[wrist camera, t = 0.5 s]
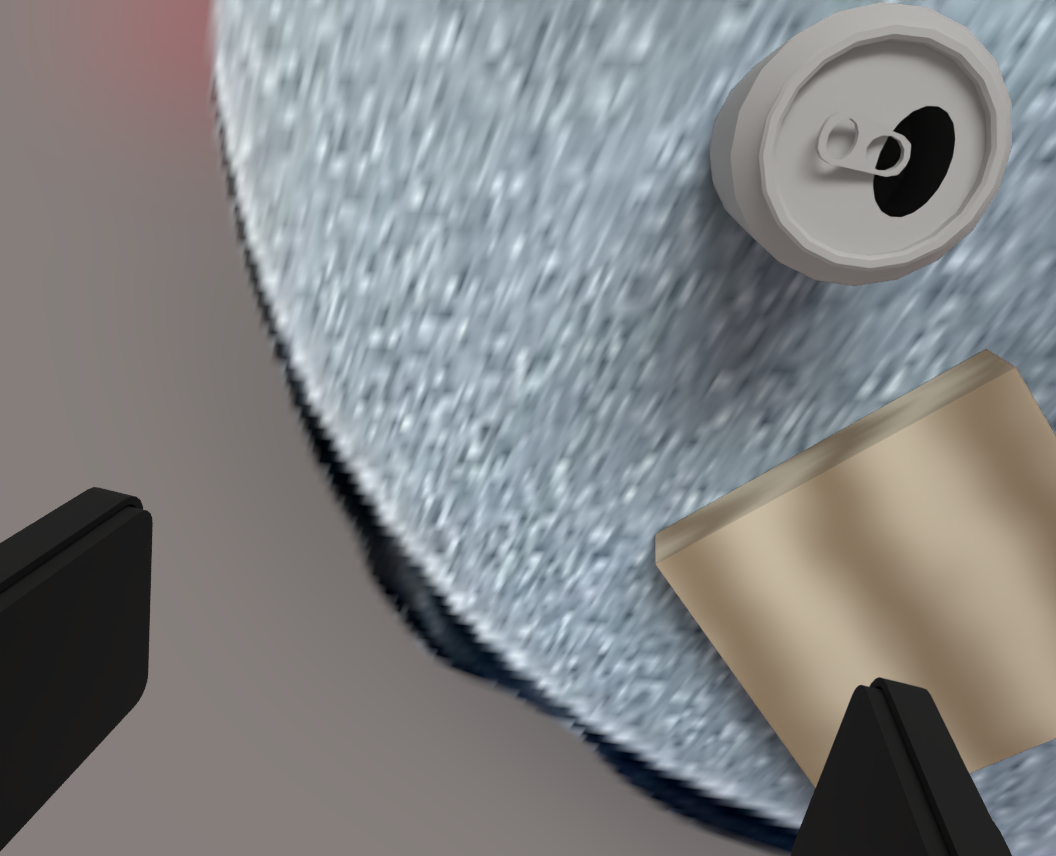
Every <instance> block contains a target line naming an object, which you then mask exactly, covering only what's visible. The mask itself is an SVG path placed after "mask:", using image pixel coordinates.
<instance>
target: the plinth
mask: <svg viewBox="0 0 1056 856" xmlns="http://www.w3.org/2000/svg"><path fill="white" fill-rule="evenodd" d="M655 554H656V566H657V567H658V568H659V570H660V571H661V573H662V574H663V575H664V577H665V578H666V580H667V581H668V582H669V584H670V585H671V587H672V588H673V589H674V591H675V592H676V594H677V595H678V596H679V598H680V599H681V601H682V602H683V603H684V605H685V606H686V608H687V609H688V610H689V612H690V613H691V615H692V616H693V617H694V619H695V620H696V622H697V623H698V624H699V626H700V627H701V629H702V630H703V631H704V633H705V634H706V636H707V637H708V638H709V640H710V641H711V643H712V644H713V645H714V647H715V648H716V650H717V651H718V652H719V654H720V655H721V657H722V658H723V659H724V661H725V662H726V664H727V665H728V666H729V668H730V669H731V671H732V672H733V673H734V675H735V676H736V678H737V679H738V680H739V682H740V683H741V685H742V686H743V687H744V689H745V690H746V692H747V693H748V694H749V696H750V697H751V699H752V700H753V701H754V703H755V704H756V706H757V707H758V708H759V710H760V711H761V713H762V714H763V715H764V717H765V718H766V720H767V721H768V722H769V724H770V725H771V727H772V728H773V729H774V731H775V732H776V734H777V735H778V736H779V738H780V739H781V741H782V742H783V743H784V745H785V746H786V748H787V749H788V750H789V752H790V753H791V755H792V756H793V757H794V759H795V760H796V762H797V763H798V764H799V766H800V767H801V769H802V770H803V771H804V773H805V774H806V776H807V777H808V778H809V780H810V781H811V783H812V784H813V785H814V787H815V788H816V786H817V783H818V781H819V778H820V776H821V773H822V771H823V768H824V765H825V763H826V760H827V758H828V755H829V753H830V750H831V748H832V745H833V742H834V740H835V737H836V735H837V732H838V730H839V727H840V725H841V722H842V720H843V717H844V714H845V712H846V709H847V707H848V704H849V702H850V699H851V697H852V694H853V692H854V690H855V689H856V688H857V686H859V685H864V686H868V687H869V686H870V684H871V683H872V682H873V681H874V679H876V678H879V677H881V678H885V679H889V680H893V681H897V682H901V683H905V684H909V685H913V686H918V687H922V688H924V689H927V690H928V692H929V693H930V694H931V696H932V698H933V700H934V702H935V704H936V706H937V709H938V711H939V713H940V715H941V717H942V719H943V721H944V723H945V725H946V727H947V729H948V731H949V733H950V735H951V737H952V739H953V741H954V743H955V745H956V747H957V749H958V751H959V753H960V755H961V758H962V760H963V762H964V764H965V766H966V768H967V770H968V772H969V773H972V772H974V771H977V770H979V769H981V768H984V767H986V766H989V765H991V764H994V763H996V762H999V761H1001V760H1004V759H1006V758H1008V757H1011V756H1013V755H1016V754H1018V753H1021V752H1023V751H1026V750H1028V749H1031V748H1033V747H1035V746H1038V745H1040V744H1043V743H1045V742H1048V741H1050V740H1053V739H1055V738H1056V436H1055V434H1054V432H1053V431H1052V429H1051V427H1050V425H1049V424H1048V422H1047V420H1046V418H1045V417H1044V415H1043V413H1042V411H1041V410H1040V408H1039V406H1038V405H1037V403H1036V401H1035V399H1034V398H1033V396H1032V394H1031V392H1030V391H1029V389H1028V387H1027V385H1026V384H1025V382H1024V380H1023V378H1022V377H1021V375H1020V373H1019V372H1018V370H1017V368H1016V367H1015V366H1013V365H1012V364H1010V363H1008V362H1007V361H1005V360H1003V359H1002V358H1000V357H999V356H997V355H995V354H994V353H992V352H990V351H989V350H987V349H985V350H983V351H982V352H980V353H978V354H976V355H974V356H973V357H971V358H969V359H967V360H965V361H964V362H962V363H960V364H958V365H956V366H955V367H953V368H951V369H949V370H948V371H946V372H944V373H942V374H940V375H939V376H937V377H935V378H933V379H931V380H930V381H928V382H926V383H924V384H923V385H921V386H919V387H917V388H915V389H914V390H912V391H910V392H908V393H906V394H905V395H903V396H901V397H899V398H898V399H896V400H894V401H892V402H890V403H889V404H887V405H885V406H883V407H881V408H880V409H878V410H876V411H874V412H873V413H871V414H869V415H867V416H865V417H864V418H862V419H860V420H858V421H856V422H855V423H853V424H851V425H849V426H848V427H846V428H844V429H842V430H840V431H839V432H837V433H835V434H833V435H831V436H830V437H828V438H826V439H824V440H823V441H821V442H819V443H817V444H815V445H814V446H812V447H810V448H808V449H806V450H805V451H803V452H801V453H799V454H798V455H796V456H794V457H792V458H790V459H789V460H787V461H785V462H783V463H781V464H780V465H778V466H776V467H774V468H773V469H771V470H769V471H767V472H765V473H764V474H762V475H760V476H758V477H756V478H755V479H753V480H751V481H749V482H747V483H746V484H744V485H742V486H740V487H739V488H737V489H735V490H733V491H731V492H730V493H728V494H726V495H724V496H722V497H721V498H719V499H717V500H715V501H714V502H712V503H710V504H708V505H706V506H705V507H703V508H701V509H699V510H697V511H696V512H694V513H692V514H690V515H689V516H687V517H685V518H683V519H681V520H680V521H678V522H676V523H674V524H672V525H671V526H669V527H667V528H665V529H664V530H662V531H660V532H658V533H656V534H655Z"/></svg>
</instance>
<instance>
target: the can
mask: <svg viewBox="0 0 1056 856" xmlns="http://www.w3.org/2000/svg"><path fill="white" fill-rule="evenodd" d="M1011 149H1012V116H1011V100H1010V97H1009V94H1008V92H1007V89H1006V86H1005V84H1004V81H1003V78H1002V76H1001V73H1000V70H999V67H998V65H997V62H996V60H995V59H994V58H993V57H992V56H991V54H990V53H989V52H988V51H987V50H986V49H985V48H984V46H983V45H982V44H981V43H980V42H979V41H978V40H977V38H976V37H975V36H974V35H973V34H972V33H971V32H970V31H969V29H968V28H967V27H965V26H963V25H961V24H959V23H957V22H955V21H953V20H951V19H949V18H947V17H945V16H943V15H941V14H939V13H937V12H935V11H934V10H932V9H930V8H928V7H919V6H911V5H902V4H894V3H885V2H881V3H876V4H871V5H867V6H862V7H857V8H853V9H848V10H844V11H839V12H835V13H834V14H832V15H830V16H828V17H827V18H825V19H823V20H821V21H820V22H818V23H816V24H814V25H812V26H811V27H809V28H807V29H805V30H804V31H802V32H800V33H798V34H797V35H795V36H793V37H792V38H791V39H789V40H788V41H787V42H785V43H784V44H783V45H781V46H780V47H779V48H778V49H776V50H775V51H774V52H772V53H771V54H770V55H768V56H767V57H766V58H764V59H763V60H762V61H760V62H759V63H758V64H757V65H755V66H754V67H753V68H752V69H751V70H750V71H749V72H748V73H747V74H746V75H745V76H744V77H743V78H742V79H741V81H740V82H739V83H738V84H737V85H736V86H735V87H734V88H733V89H732V90H731V91H730V93H729V95H728V97H727V99H726V101H725V103H724V105H723V106H722V108H721V110H720V112H719V114H718V116H717V118H716V120H715V124H714V130H713V135H712V140H711V145H710V150H709V155H710V164H711V172H712V181H713V185H714V187H715V189H716V191H717V193H718V195H719V197H720V200H721V202H722V204H723V206H724V208H725V210H726V211H727V212H728V213H729V214H730V215H731V216H732V217H733V218H734V219H735V220H736V221H737V223H738V224H739V225H740V226H741V227H742V228H743V229H744V230H745V231H746V232H747V233H748V234H749V235H751V236H752V237H753V238H754V239H755V240H756V241H757V242H758V243H759V244H760V245H761V246H762V247H763V248H765V249H766V250H767V251H768V252H769V253H770V254H771V255H772V256H773V257H774V258H775V259H776V260H777V261H779V262H780V263H782V264H784V265H786V266H788V267H790V268H792V269H794V270H796V271H798V272H800V273H802V274H804V275H806V276H808V277H810V278H812V279H814V280H819V281H825V282H832V283H839V284H846V285H852V286H857V285H864V284H870V283H877V282H883V281H890V280H896V279H899V278H901V277H903V276H905V275H908V274H910V273H912V272H914V271H916V270H918V269H920V268H922V267H925V266H927V265H929V264H931V263H933V262H935V261H937V260H939V259H940V258H941V257H942V256H943V255H945V254H946V253H947V252H948V251H949V250H950V249H951V248H953V247H954V246H955V245H956V244H957V243H958V242H960V241H961V240H962V239H963V238H964V237H965V236H967V235H968V234H969V233H970V232H971V231H972V230H973V229H974V227H975V226H976V224H977V223H978V221H979V220H980V218H981V217H982V215H983V214H984V212H985V211H986V209H987V208H988V206H989V205H990V203H991V202H992V200H993V199H994V197H995V196H996V194H997V193H998V191H999V188H1000V184H1001V181H1002V178H1003V175H1004V171H1005V168H1006V165H1007V162H1008V158H1009V155H1010V152H1011Z"/></svg>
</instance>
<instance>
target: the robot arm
mask: <svg viewBox="0 0 1056 856" xmlns="http://www.w3.org/2000/svg"><path fill="white" fill-rule="evenodd" d="M151 557H152V516H151V514H150V513H149V512H148V511H146V510H143V506H142V503H141V500H140V499H138V498H137V497H135V496H131V495H127V494H122V493H118V492H114V491H110V490H106V489H102V488H96V487H93V488H91V489H88V490H86V491H85V492H83V493H81V494H80V495H78V496H77V497H75V498H73V499H72V500H70V501H68V502H67V503H65V504H63V505H62V506H60V507H58V508H57V509H55V510H54V511H52V512H50V513H49V514H47V515H45V516H44V517H42V518H41V519H39V520H37V521H36V522H34V523H32V524H31V525H29V526H28V527H26V528H24V529H23V530H21V531H19V532H18V533H16V534H14V535H13V536H11V537H10V538H8V539H6V540H5V541H3V542H2V543H0V851H1V850H2V849H3V848H4V847H5V846H6V845H7V844H8V842H9V841H10V840H11V839H12V838H13V837H14V836H15V835H16V834H17V833H18V832H19V831H20V829H21V828H22V827H23V826H24V825H25V824H26V823H27V822H28V821H29V820H30V819H31V818H32V817H33V815H34V814H35V813H36V812H37V811H38V810H39V809H40V808H41V807H42V806H43V805H44V804H45V802H46V801H47V800H48V799H49V798H50V797H51V796H52V795H53V794H54V793H55V792H56V791H57V790H58V788H59V787H60V786H61V785H62V784H63V783H64V782H65V781H66V780H67V779H68V778H69V777H70V775H71V774H72V773H73V772H74V771H75V770H76V769H77V768H78V767H79V766H80V765H81V764H82V762H83V761H84V760H85V759H86V758H87V757H88V756H89V755H90V754H91V753H92V752H93V751H94V750H95V748H96V747H97V746H98V745H99V744H100V743H101V742H102V741H103V740H104V739H105V738H106V736H107V735H108V734H109V733H110V732H111V731H112V730H113V729H114V728H115V726H117V725H118V723H120V721H121V720H122V719H123V718H124V717H125V716H126V715H127V714H128V713H129V712H130V711H131V710H132V708H133V707H134V706H135V705H136V704H137V702H138V701H139V700H140V698H141V696H142V694H143V692H144V690H145V686H146V683H147V679H148V659H149V625H150V590H151V589H150V588H151ZM791 856H1012V855H1011V853H1010V850H1009V848H1008V846H1007V844H1006V842H1005V840H1004V838H1003V836H1002V834H1001V832H1000V831H999V829H998V828H997V826H996V825H995V823H994V822H993V820H992V819H991V817H990V815H989V813H988V811H987V809H986V807H985V805H984V802H983V800H982V798H981V796H980V794H979V792H978V790H977V788H976V786H975V784H974V782H973V780H972V778H971V776H970V774H969V772H968V770H967V768H966V766H965V764H964V762H963V760H962V758H961V755H960V753H959V751H958V749H957V747H956V745H955V743H954V741H953V739H952V737H951V735H950V733H949V731H948V729H947V727H946V725H945V723H944V721H943V719H942V717H941V715H940V713H939V711H938V709H937V706H936V704H935V702H934V700H933V698H932V696H931V694H930V693H929V692H928V690H927V689H924V688H922V687H918V686H913V685H909V684H905V683H901V682H897V681H893V680H889V679H885V678H881V677H879V678H876V679H874V681H873V682H872V683H871V684H870V686H869V687H868V686H864V685H859V686H857V688H856V689H855V690H854V692H853V694H852V697H851V699H850V702H849V704H848V707H847V709H846V712H845V714H844V717H843V720H842V722H841V725H840V727H839V730H838V732H837V735H836V737H835V740H834V742H833V745H832V748H831V750H830V753H829V755H828V758H827V760H826V763H825V765H824V768H823V771H822V773H821V776H820V778H819V781H818V783H817V786H816V788H815V791H814V794H813V796H812V799H811V801H810V804H809V806H808V809H807V811H806V814H805V817H804V819H803V822H802V824H801V827H800V829H799V832H798V834H797V837H796V840H795V842H794V845H793V849H792V854H791Z"/></svg>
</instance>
